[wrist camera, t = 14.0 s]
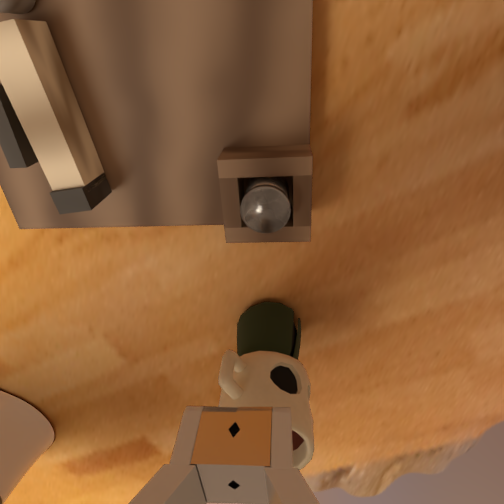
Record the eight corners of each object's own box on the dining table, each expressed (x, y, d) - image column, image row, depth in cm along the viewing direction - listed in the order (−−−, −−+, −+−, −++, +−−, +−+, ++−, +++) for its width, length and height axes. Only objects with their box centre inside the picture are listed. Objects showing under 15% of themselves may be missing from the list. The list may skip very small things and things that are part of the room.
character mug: (327, 343, 36) (346, 476, 25) (269, 367, 39) (263, 498, 28) (269, 268, 32) (262, 387, 21) (208, 299, 35) (173, 422, 24)
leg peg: (247, 209, 27) (242, 233, 23) (244, 168, 25) (238, 187, 22) (289, 208, 27) (290, 233, 23) (289, 166, 25) (290, 186, 22)
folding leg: (-22, -39, 20) (-73, -53, 17) (21, -51, 20) (-24, -67, 17) (81, 196, 27) (57, 214, 25) (114, 191, 27) (94, 209, 24)
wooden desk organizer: (34, 218, 32) (-6, 246, 27) (-109, -129, 20) (-214, -174, 16) (306, 212, 29) (310, 241, 25) (313, -185, 18) (322, -256, 14)
